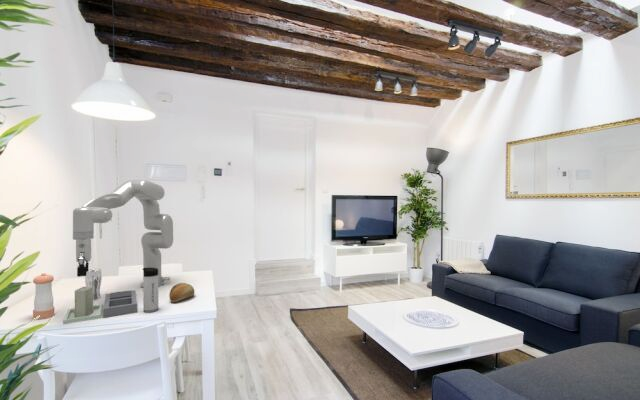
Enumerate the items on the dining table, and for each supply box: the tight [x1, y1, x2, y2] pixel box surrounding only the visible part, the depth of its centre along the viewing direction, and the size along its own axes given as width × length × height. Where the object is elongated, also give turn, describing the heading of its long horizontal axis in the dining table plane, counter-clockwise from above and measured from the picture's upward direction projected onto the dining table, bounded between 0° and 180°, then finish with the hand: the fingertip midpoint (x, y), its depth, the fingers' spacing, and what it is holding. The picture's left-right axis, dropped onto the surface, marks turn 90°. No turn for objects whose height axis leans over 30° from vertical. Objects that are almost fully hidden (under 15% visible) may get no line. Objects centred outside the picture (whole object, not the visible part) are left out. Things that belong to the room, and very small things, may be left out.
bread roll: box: [168, 282, 195, 303], centre depth 168 cm, size 10×15×8 cm, turn 164°
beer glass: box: [84, 268, 103, 302], centre depth 166 cm, size 7×7×15 cm
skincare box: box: [74, 286, 94, 318], centre depth 145 cm, size 6×4×12 cm
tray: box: [62, 303, 103, 325], centre depth 145 cm, size 13×15×2 cm
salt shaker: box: [32, 273, 55, 321], centre depth 143 cm, size 7×7×19 cm
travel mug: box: [142, 268, 159, 313], centre depth 151 cm, size 6×7×20 cm
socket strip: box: [102, 289, 138, 319], centre depth 156 cm, size 13×24×5 cm, turn 32°
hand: (83, 273), depth 144 cm, fingers open, 9 cm apart
